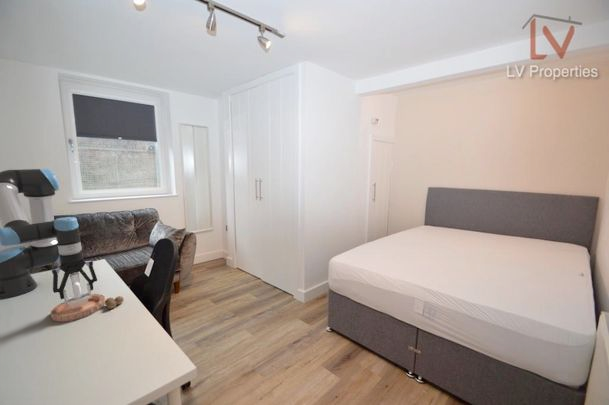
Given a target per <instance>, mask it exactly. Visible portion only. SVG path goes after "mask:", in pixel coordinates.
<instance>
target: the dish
mask: <svg viewBox="0 0 609 405" xmlns="http://www.w3.org/2000/svg"><path fill="white" fill-rule="evenodd" d="M91 296H92V298H89V299H88V301H87V304H86V305H84V306H81V307H77V308H74V309H73V308H72V307H71V306H70V305H69V304H68V306H66V305H65V301H63V302H62V303H59V304H57V305H56V306H55V307H53V308H52V310H50V316H51V317H50V318H51V319H52V320H53V321H54V322H58V323H65V322H72V321H76V320H79V319H83V318H86V317H88V316H91V315H92V314H95V313H96V312H98V311H100V310H101V309H103V307H104V306H106V305H105V301H106V297H105V295H103V294H100V293H91Z"/></svg>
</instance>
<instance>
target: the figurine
mask: <svg viewBox="0 0 609 405" xmlns="http://www.w3.org/2000/svg"><path fill="white" fill-rule="evenodd" d="M69 277H70V278H69V279H70V280H71V286H72V294H73V295H72V296H68V297H67V302H68V304H69V305H70V306H71V307H72V308H73V309H74V308H77V307H81V306H84V305H86V304H87V301H88V299H89V295H88V291H86V292H82V289H81V283H80V280H81V279H80V272H77V273H73V274H69Z"/></svg>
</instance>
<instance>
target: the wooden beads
mask: <svg viewBox="0 0 609 405" xmlns="http://www.w3.org/2000/svg"><path fill="white" fill-rule="evenodd" d="M123 302H124V297H123V296H116V297H115V298H113V297H108V298H105V305H104V306H106V308H107V309H109V310H110V309H111V310H113V309H115V308H116V306H117V305H121V304H123Z"/></svg>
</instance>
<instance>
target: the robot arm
mask: <svg viewBox="0 0 609 405" xmlns="http://www.w3.org/2000/svg"><path fill="white" fill-rule="evenodd" d="M59 190H60V185H59V182H58V179H57V176H56V173H54V172H53V170H51V169H48V168H47V169H46V168H45V169H44V168H33V169H32V168H31V169H30V168H29V169H28V168H27V169H7V170H6V169H5V170H2V171H0V223H1V226H2V227H1V228H0V245H1V246H3V247H8V248H4V249H1V250H0V300H2V299H9V298H14V297H18V296H21V295H24V294H27V293H29V292H31V291H33V290H35V289H37V287H38V284H37V281H36V280H35V279H34V277H33V276H32V274H31V273H30V270H31V269H35V268H41V267H43V266H49V265H54V264H57V263H60V266H58V267H57V268H52V269H51V273H52V275H53V277H52V280H53V281H52V291H53V293H55V294H56V293H59V298H60V300H64V301H63V302H65V305H66V306H68V302H67V292H66V289H65V287H66V284H67V281H68V279H69V277H70V275H71V274H73V273H77V272H78V273H79V274H81V276H82V277H84V279H85V280H86V281H87V283H86V289H87V292H88V295H89V298H92V296H91V294H92V291H94V283H95V282H97V281H98V278H97V275H96V272H95V269H94V266H93V265H94V262H93V260H89V261H88V260H87V261H85V259H84V254H83V253H84V252H83V251H82V250H83V248H82V243H81V242H82V241H81V233H80V228H79V223H78V218H77V217H74V216H67V217H59V218H56V219H55V216H54V208H53V207H54V206H53V197H54V196H55V195H56V192H57V191H59ZM18 194H23V196H24V197H25V198H26V199H28V203H29V204H28V205H29V211H30V217H31V218H30V219H31V223H30V221H29V219H28V217H27V215H26V212H25V210H24V207H23V205H22V203H21V201H20V198H19V196H18ZM28 243H30V246H28V247H26V246H25V245H22V244H28ZM11 246H12V247H11ZM85 265H86V266H87V267H88V269H89V272H90V274H91V277H92V278H90V277H89V276H88V275H87V273H86V272H85V271H84V270H83V268H84V266H85ZM60 271H62V272H64V273H63V276H62V280H61V281H60V282H61V283H60V285H59V287H58V283H59V273H60Z"/></svg>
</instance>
